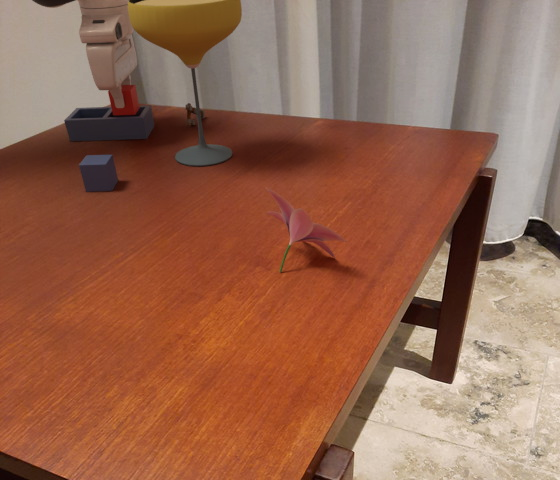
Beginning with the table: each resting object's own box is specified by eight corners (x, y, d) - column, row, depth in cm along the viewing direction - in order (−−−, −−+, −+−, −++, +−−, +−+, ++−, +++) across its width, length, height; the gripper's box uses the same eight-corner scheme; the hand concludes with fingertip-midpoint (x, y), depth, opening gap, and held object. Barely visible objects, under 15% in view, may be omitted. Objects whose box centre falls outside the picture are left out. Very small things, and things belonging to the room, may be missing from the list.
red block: (113, 115, 112) (107, 91, 109) (118, 109, 115) (113, 85, 112) (135, 114, 112) (130, 90, 109) (139, 108, 115) (135, 84, 112)
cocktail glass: (233, 177, 96) (217, 6, 79) (139, 170, 100) (105, 6, 83) (263, 142, 109) (254, -12, 92) (178, 137, 113) (155, -11, 96)
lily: (347, 291, 69) (370, 214, 67) (261, 272, 65) (281, 188, 62) (310, 273, 80) (328, 206, 77) (234, 256, 75) (250, 184, 72)
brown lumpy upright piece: (182, 125, 115) (182, 102, 114) (196, 130, 123) (196, 108, 121) (190, 126, 115) (190, 102, 114) (204, 130, 122) (204, 108, 121)
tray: (146, 138, 113) (142, 117, 110) (69, 141, 113) (63, 120, 111) (154, 125, 119) (151, 105, 117) (81, 128, 120) (76, 107, 117)
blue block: (85, 191, 93) (78, 165, 90) (93, 181, 97) (86, 155, 94) (112, 191, 93) (105, 164, 90) (118, 180, 97) (112, 154, 94)
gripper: (105, 14, 111) (120, 89, 120) (75, 34, 96) (95, 118, 105) (136, 13, 111) (149, 88, 120) (111, 33, 96) (128, 117, 105)
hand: (124, 102), depth 112 cm, fingers closed on red block, 4 cm apart
